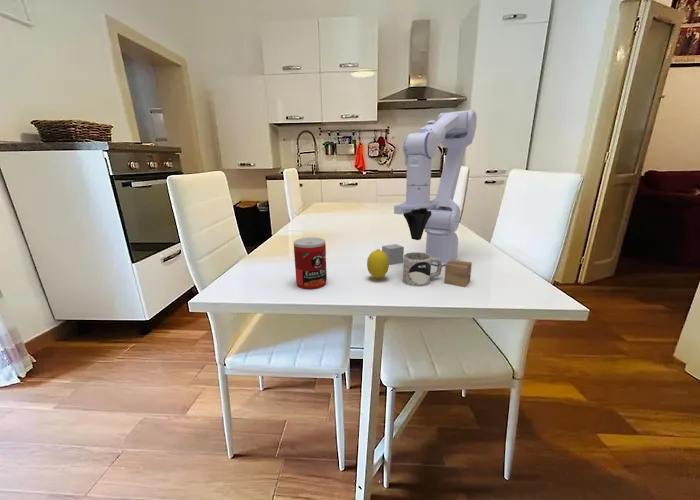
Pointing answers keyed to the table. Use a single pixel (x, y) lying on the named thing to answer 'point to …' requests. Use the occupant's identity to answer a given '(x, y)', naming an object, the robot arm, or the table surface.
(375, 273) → the lemon
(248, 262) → the table surface
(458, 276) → the walnut block
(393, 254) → the grey block
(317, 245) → the canned food
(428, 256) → the mug
